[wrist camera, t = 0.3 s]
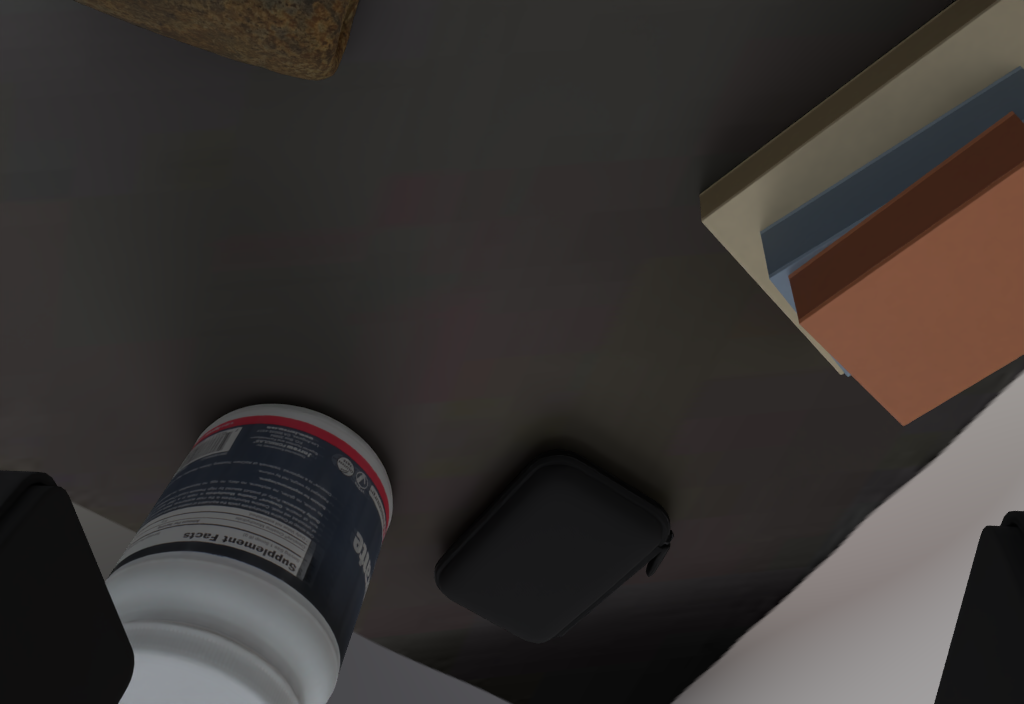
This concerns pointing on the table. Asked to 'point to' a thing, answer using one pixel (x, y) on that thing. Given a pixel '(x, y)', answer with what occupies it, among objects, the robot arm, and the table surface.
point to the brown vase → (250, 29)
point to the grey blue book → (883, 181)
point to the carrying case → (553, 547)
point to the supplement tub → (254, 562)
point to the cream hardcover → (863, 126)
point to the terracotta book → (928, 280)
